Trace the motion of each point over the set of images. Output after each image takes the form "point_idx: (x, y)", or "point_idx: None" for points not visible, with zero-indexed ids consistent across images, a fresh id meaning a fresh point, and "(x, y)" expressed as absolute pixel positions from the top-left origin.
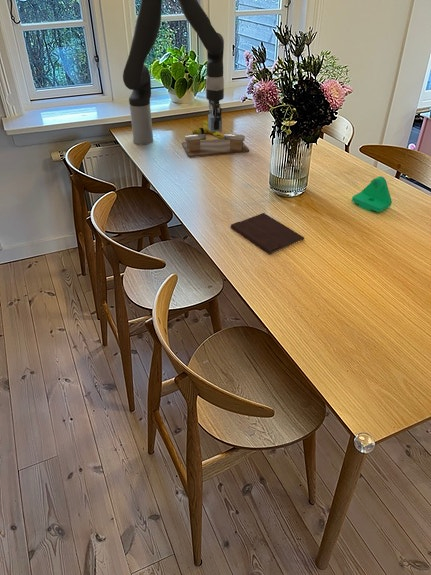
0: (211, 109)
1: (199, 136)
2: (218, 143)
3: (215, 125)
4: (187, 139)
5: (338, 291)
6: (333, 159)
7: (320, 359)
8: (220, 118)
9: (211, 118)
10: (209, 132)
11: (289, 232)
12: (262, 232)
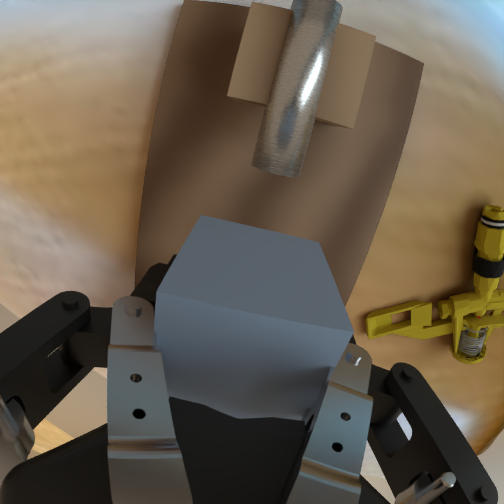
0: (308, 434)
1: (272, 108)
2: None
3: (142, 281)
4: (292, 6)
5: None
6: (58, 444)
7: None
8: (48, 362)
9: (157, 296)
10: (456, 295)
11: None
12: None
